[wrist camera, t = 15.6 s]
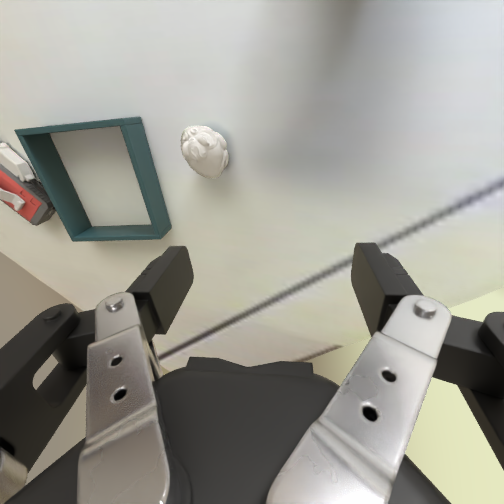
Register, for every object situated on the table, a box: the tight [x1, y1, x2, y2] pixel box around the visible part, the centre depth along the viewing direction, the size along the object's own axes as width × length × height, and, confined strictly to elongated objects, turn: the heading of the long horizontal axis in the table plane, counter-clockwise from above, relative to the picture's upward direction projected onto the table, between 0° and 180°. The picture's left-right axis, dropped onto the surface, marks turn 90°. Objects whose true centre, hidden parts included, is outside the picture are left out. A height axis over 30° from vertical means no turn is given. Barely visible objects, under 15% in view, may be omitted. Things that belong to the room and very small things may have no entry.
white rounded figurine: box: [181, 126, 229, 178], centre depth 33 cm, size 6×7×7 cm
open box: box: [14, 117, 172, 242], centre depth 39 cm, size 18×17×4 cm
